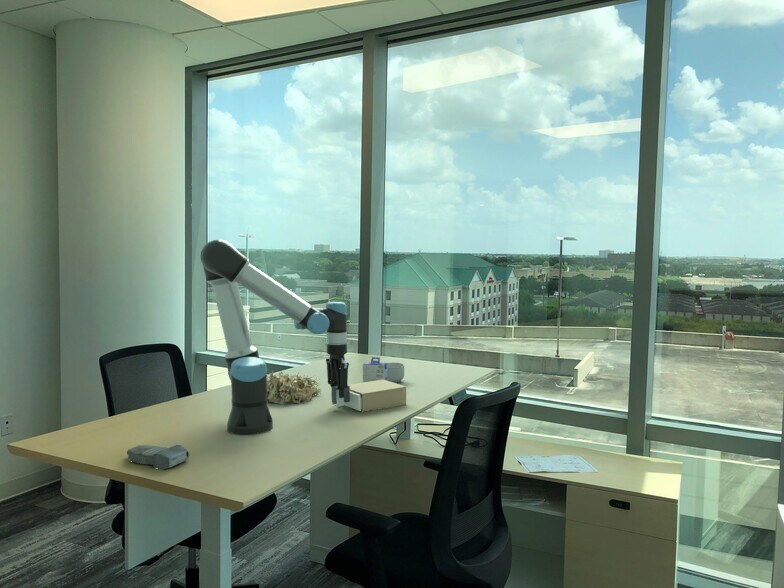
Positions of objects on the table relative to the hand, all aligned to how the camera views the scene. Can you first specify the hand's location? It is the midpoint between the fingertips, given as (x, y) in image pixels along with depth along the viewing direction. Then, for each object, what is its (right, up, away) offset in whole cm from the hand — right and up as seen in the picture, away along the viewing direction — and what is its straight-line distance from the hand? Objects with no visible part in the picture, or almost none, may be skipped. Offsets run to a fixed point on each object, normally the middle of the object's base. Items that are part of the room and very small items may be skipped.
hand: (337, 404), depth 229 cm
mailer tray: (+9, -1, +7) cm, 12 cm away
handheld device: (-48, -7, -54) cm, 73 cm away
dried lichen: (-25, -1, +22) cm, 33 cm away
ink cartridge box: (+13, 0, +30) cm, 33 cm away
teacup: (+20, +1, +51) cm, 54 cm away
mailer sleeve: (+13, -1, +9) cm, 16 cm away
